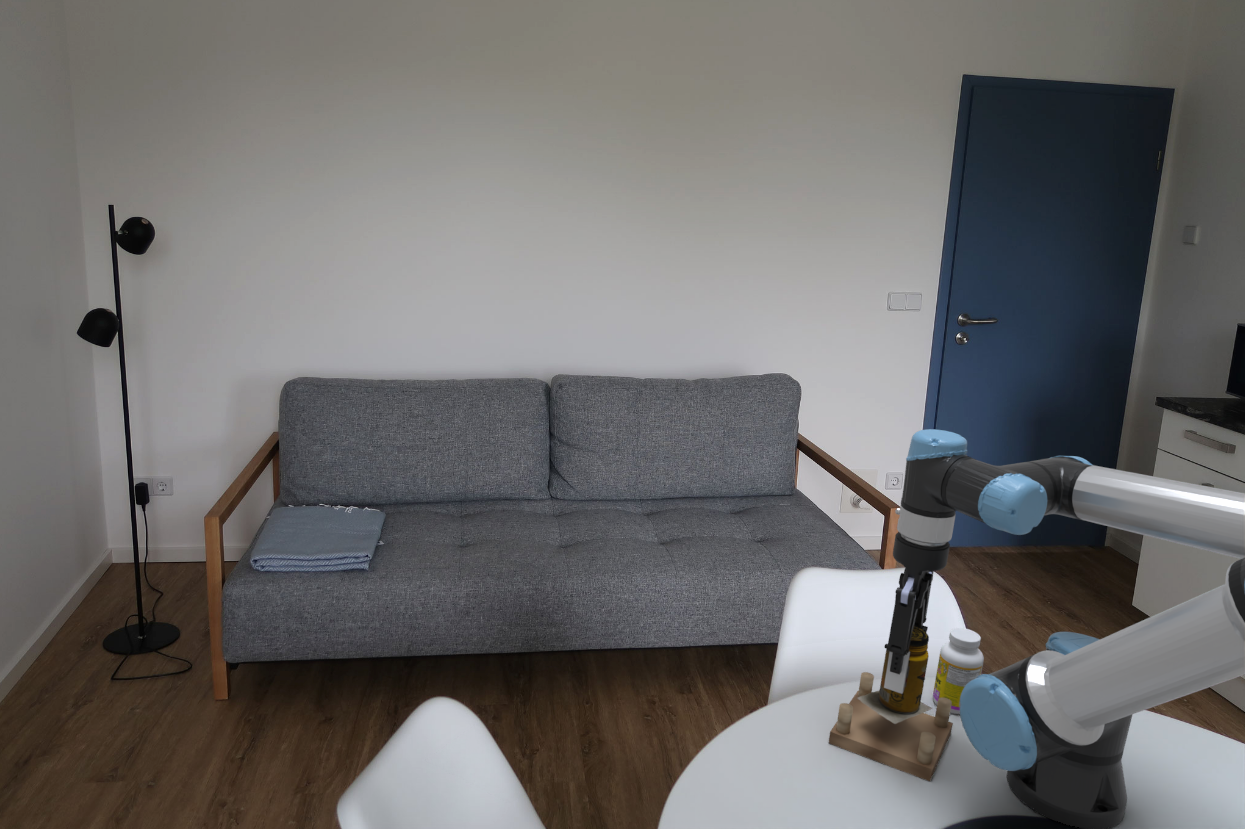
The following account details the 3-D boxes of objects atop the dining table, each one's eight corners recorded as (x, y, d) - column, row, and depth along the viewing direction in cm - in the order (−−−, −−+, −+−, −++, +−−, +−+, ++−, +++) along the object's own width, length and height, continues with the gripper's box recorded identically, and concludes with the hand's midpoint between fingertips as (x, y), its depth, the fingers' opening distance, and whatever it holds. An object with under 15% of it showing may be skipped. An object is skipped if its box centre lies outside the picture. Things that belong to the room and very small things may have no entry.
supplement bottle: (936, 689, 151) (948, 620, 148) (977, 702, 148) (990, 632, 144) (928, 707, 145) (940, 636, 142) (970, 721, 142) (984, 649, 139)
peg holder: (950, 734, 138) (957, 700, 137) (930, 781, 126) (936, 744, 125) (856, 701, 145) (861, 668, 144) (828, 743, 134) (833, 708, 132)
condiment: (932, 709, 133) (944, 637, 130) (894, 725, 129) (906, 650, 126) (893, 685, 139) (904, 616, 136) (856, 699, 134) (867, 628, 131)
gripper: (912, 512, 137) (891, 646, 143) (878, 550, 122) (856, 699, 127) (963, 524, 134) (939, 661, 140) (934, 565, 118) (909, 718, 124)
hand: (899, 679), depth 133 cm, fingers closed on condiment, 6 cm apart
